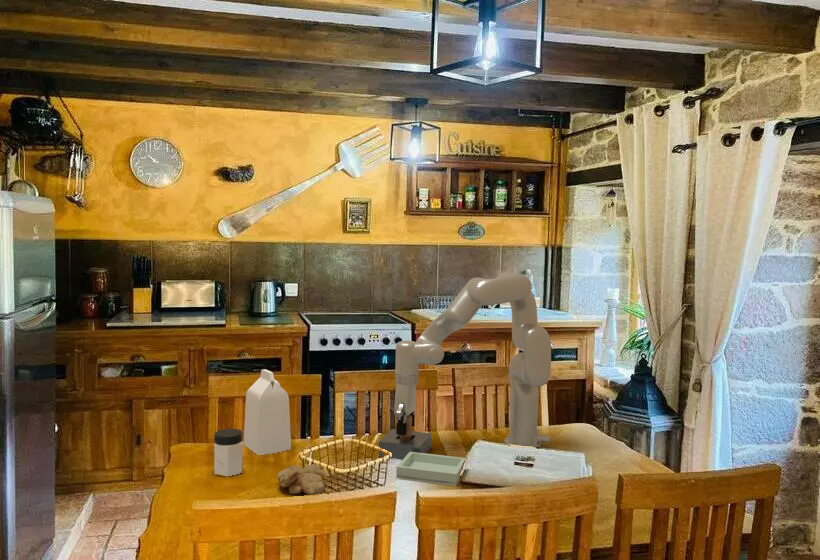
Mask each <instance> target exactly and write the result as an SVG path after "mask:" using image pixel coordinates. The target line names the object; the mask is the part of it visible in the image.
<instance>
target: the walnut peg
mask: <svg viewBox="0 0 820 560" xmlns="http://www.w3.org/2000/svg"><path fill="white" fill-rule="evenodd" d="M403 419H404V416H403ZM405 423H407V425H406V435H400V439H401V440H410V441H412V431H413V427H412V416H411V415H408V416H407V417H406V422H405Z"/></svg>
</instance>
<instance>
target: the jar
mask: <svg viewBox="0 0 820 560" xmlns="http://www.w3.org/2000/svg"><path fill="white" fill-rule="evenodd" d="M213 436H214V437H213V440H214V445H213V447H214V449H213V451H214V452H213V453H214V454H213V456H214V457H213V458H214V460H213V461H214V475H215V474H219V475H224V476H231V477H233V476H232V475H234V476H237V474H238V475H241V474H240V473H243V441H244V431H243V430H241V429H237V428H225V429H220V430H216V431H215V432H214V435H213Z"/></svg>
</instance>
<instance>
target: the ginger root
mask: <svg viewBox="0 0 820 560" xmlns="http://www.w3.org/2000/svg"><path fill="white" fill-rule="evenodd" d="M322 474H323V475H324V476H325V477H326V473H325V472H324V470H323V469H322V467H321V465H320V466H318V465H315V464H312V465H309V463H307V464H306V466H304V467H303V468H301V467H300V466H298V465H297V464H295V465H294V464H293V465H290V466H289V467H286V468H284V469H282V470H281V471H280V472H277V474H276V475H277V476H276V478H277V480H278V482H279V486H280V487H283V488H287V487H288V491H289V494H292V495H297V494H298V495H299V494H301V492H302V493H304V494H306V495H308V496H310V495H315V494H318V495H320V494H322V493H323V492H324V491H325V487H326V486H325V485H326V484H325V482H324V483H323V482H322V477H321V476H320V475H322ZM315 496H316V495H315Z"/></svg>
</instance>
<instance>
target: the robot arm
mask: <svg viewBox="0 0 820 560" xmlns="http://www.w3.org/2000/svg"><path fill="white" fill-rule="evenodd" d="M532 288H533V287H532V282H531V279H530V278H529V277H527V276H526V275H525V274H521V273H516V272H511V271H510V272H509V271H505V272H501V273H499V274H498V275H497V276H496V278H484V277H473V278H471V279H469V280H468V282H466V284H465V285H464V286H463V287H462V289H461V290H460V291H459V293H458V294H457V296H455V298H454V299H453V300H452V302H450V304H449V306H448V307H447V308H446V309H445V310H444V311H443V312H442V313H440V314H439V315H438V316H437V317H436V318H435V319H434V320H432V321H431V322H430V323H429V324H428V326H427V327H426V328H425V329H424V330H423V332H422V333H421V334H420V336H419V337H418V338H417V340H416V341H413V340H401V341H398V342H397V343H396V345H395V369H394V372H395V373H394V374H395V375H394V379H395V380H394V384H396V387H395V393H394V407H393V409H394V410H393V414H394V416H396V420H395V421H396V427H395V428H396V434H397V435H406V425H407V423H405V422H406V417H407V416H408V415H411V416H412V428H414V427H415V423H416V421H415V420H416V418H415V416H416V411H415V410H416V406H417V388H416V387H417V385H419V364H421V365H426V366H427V365H429V366H434V365H438V364H439V363H441V362H442V361H443V359H444V357H445V350H444V348H443V346H442V345H441V344H442V343H443V342H444V340H445V339H446V338H447V337H449V336H450V335H451V334H452V333H454V332H456V331H458V330H459V331H460V330H462V329H463V328H465V327H467V326H468V324H469V323H470V322H471V321H472V320H473V318H474V316H476V314H477V313H478V311H479V310H480V309H481V308H482V306H495V305H503V304H507V303H509V305H510V308H511V340H512V343H513V345H514V346H515V347H516V348H518V349H520V350H522V351H523V352H518V353H516V354H514V355H513V356H512V358H511V359H510V361H509V364H508V373H509V375H508V376H509V383H510V384H509V386H510V387H509V388H510V389H509V390H510V391H509V392H510V394H509V397H510V399H509V426H508V427H509V431H508V436H506V437H505V438H504V444H505V445H506V444H515V445H522V446H532V447H539V448H541V447H542V443H543V442H544V443H549V444H551V436H548V434H541V433H540V432H539V431H540V430H539V429H538V420H539V419H538V417H539V388H540V387H543V386H545V385H546V384H547V383H548V382H549V379H550V378H551V377H550V376H551V373H552V341H551V337H550V334H549V332H548V331H547V330H546V328H544V327H543V326H541V325H539V322H538V309H537V308H538V307H537V301H536V298H535V295H534V293H533V292H532ZM403 416H404V419H403Z"/></svg>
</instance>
